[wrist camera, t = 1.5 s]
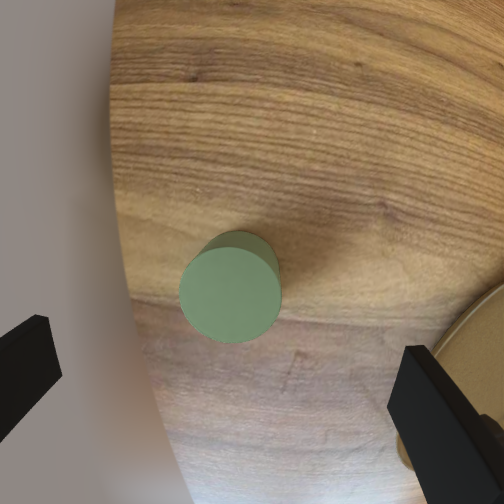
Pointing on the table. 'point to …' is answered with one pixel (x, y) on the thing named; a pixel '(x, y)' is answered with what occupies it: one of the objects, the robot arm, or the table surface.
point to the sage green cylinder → (232, 288)
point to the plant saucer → (474, 358)
